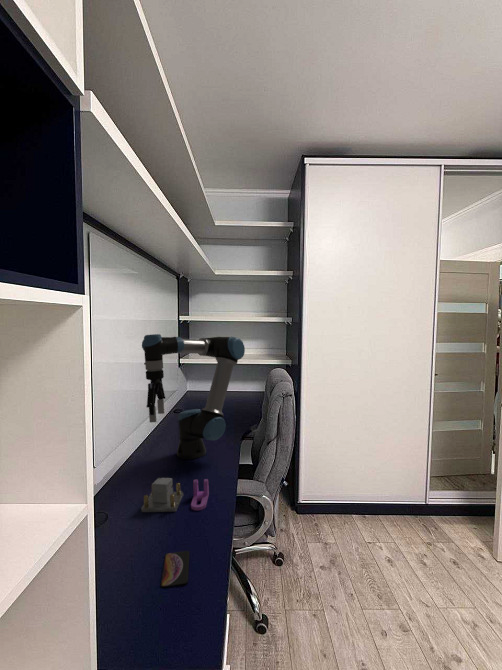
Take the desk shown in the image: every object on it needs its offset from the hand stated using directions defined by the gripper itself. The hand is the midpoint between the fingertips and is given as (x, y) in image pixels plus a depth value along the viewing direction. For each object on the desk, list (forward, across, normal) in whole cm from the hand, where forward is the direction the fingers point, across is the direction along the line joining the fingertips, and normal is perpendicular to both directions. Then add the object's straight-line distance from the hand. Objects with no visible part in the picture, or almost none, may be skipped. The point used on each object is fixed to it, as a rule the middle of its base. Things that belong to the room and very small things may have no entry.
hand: (157, 417), depth 170 cm
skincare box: (+27, +21, +6) cm, 35 cm away
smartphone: (+29, +60, +20) cm, 70 cm away
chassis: (+28, +21, +6) cm, 36 cm away
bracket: (+29, +21, +20) cm, 41 cm away
